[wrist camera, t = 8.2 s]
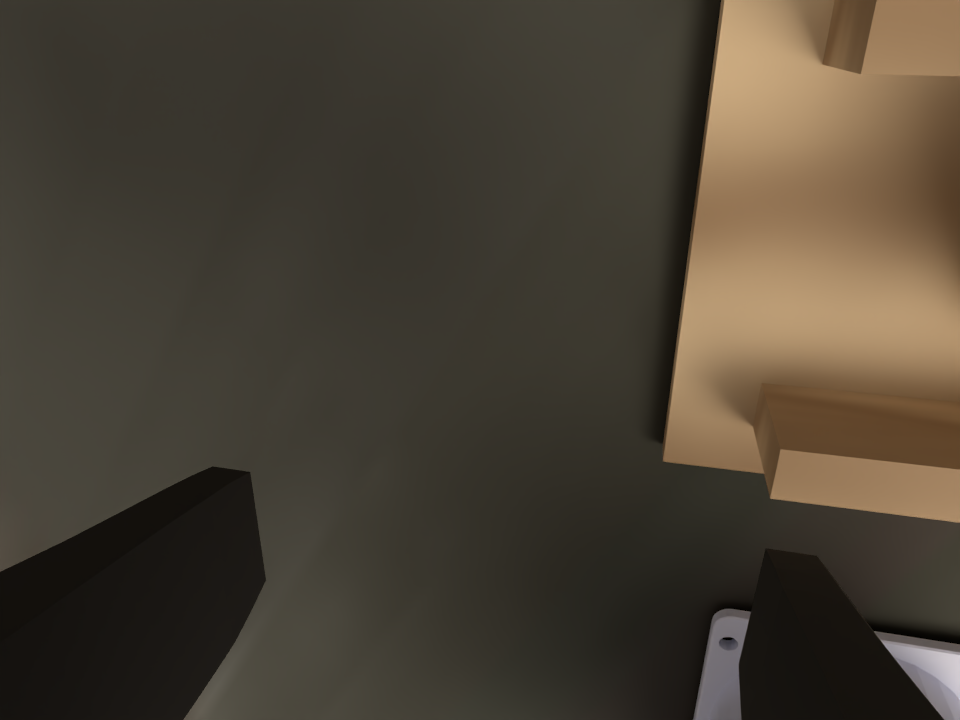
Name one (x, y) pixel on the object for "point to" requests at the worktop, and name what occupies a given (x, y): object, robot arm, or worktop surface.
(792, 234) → the clip holder
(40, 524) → the worktop surface
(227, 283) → the worktop surface
